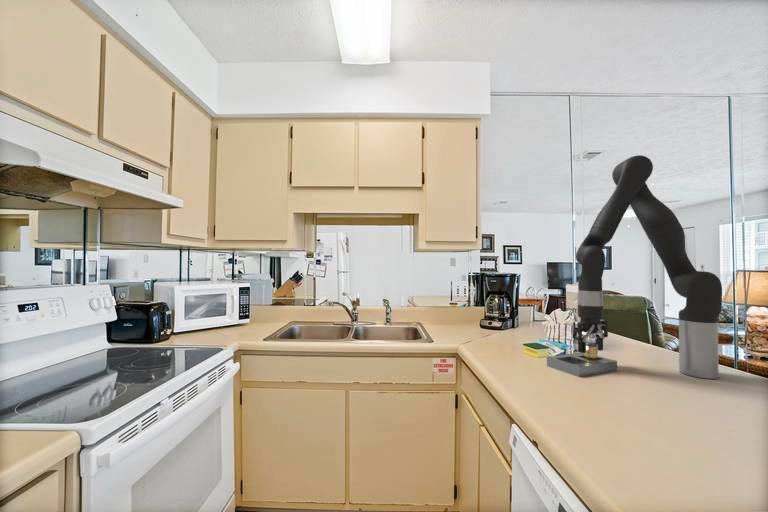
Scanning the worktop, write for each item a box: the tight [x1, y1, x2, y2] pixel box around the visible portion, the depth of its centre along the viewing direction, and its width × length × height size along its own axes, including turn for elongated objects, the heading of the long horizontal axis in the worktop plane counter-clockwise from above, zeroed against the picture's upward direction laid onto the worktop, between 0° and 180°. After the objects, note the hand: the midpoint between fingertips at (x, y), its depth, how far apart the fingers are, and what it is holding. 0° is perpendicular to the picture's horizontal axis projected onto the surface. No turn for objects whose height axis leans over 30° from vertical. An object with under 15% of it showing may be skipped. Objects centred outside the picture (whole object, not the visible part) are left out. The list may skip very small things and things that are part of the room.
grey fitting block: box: [546, 352, 618, 377], centre depth 113 cm, size 18×12×3 cm, turn 112°
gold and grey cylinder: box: [584, 341, 599, 361], centre depth 114 cm, size 4×4×8 cm
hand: (590, 351), depth 114 cm, fingers open, 8 cm apart
